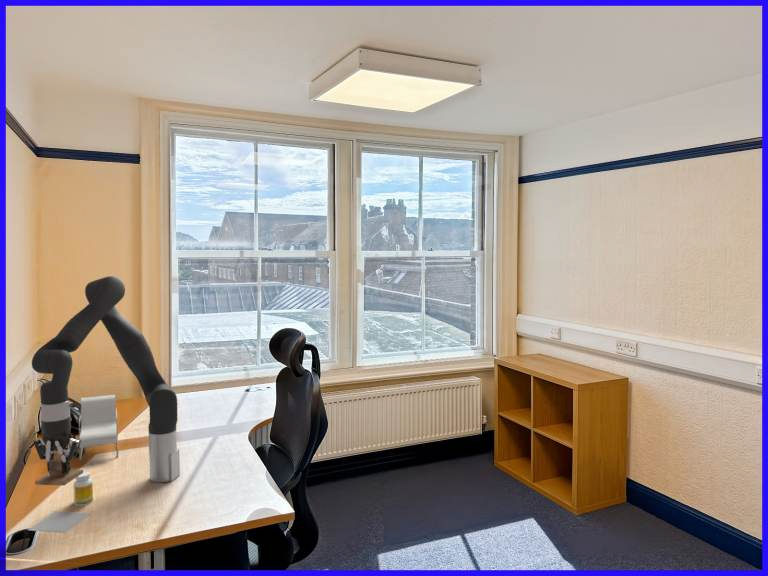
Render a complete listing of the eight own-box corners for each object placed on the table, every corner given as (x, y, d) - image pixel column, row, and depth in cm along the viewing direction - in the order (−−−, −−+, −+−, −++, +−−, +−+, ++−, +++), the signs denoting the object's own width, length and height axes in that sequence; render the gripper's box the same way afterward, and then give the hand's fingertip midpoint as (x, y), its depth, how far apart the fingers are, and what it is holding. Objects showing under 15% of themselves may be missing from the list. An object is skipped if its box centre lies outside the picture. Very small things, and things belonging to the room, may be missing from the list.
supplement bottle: (71, 503, 188) (70, 474, 187) (89, 497, 192) (88, 469, 191) (78, 508, 184) (76, 479, 184) (95, 502, 188) (94, 474, 188)
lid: (83, 472, 178) (82, 453, 177) (64, 485, 169) (63, 465, 168) (55, 471, 179) (54, 452, 178) (35, 484, 170) (33, 464, 169)
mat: (91, 514, 181) (91, 513, 181) (66, 533, 169) (65, 532, 169) (54, 512, 182) (54, 511, 182) (27, 531, 170) (27, 530, 170)
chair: (117, 438, 249) (116, 393, 247) (118, 458, 226) (116, 409, 225) (82, 443, 243) (80, 396, 241) (79, 464, 221) (77, 413, 219)
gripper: (86, 413, 175) (89, 468, 177) (41, 412, 177) (45, 467, 178) (70, 421, 168) (73, 478, 169) (24, 420, 169) (28, 477, 171)
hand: (59, 472), depth 174 cm, fingers closed on lid, 3 cm apart
